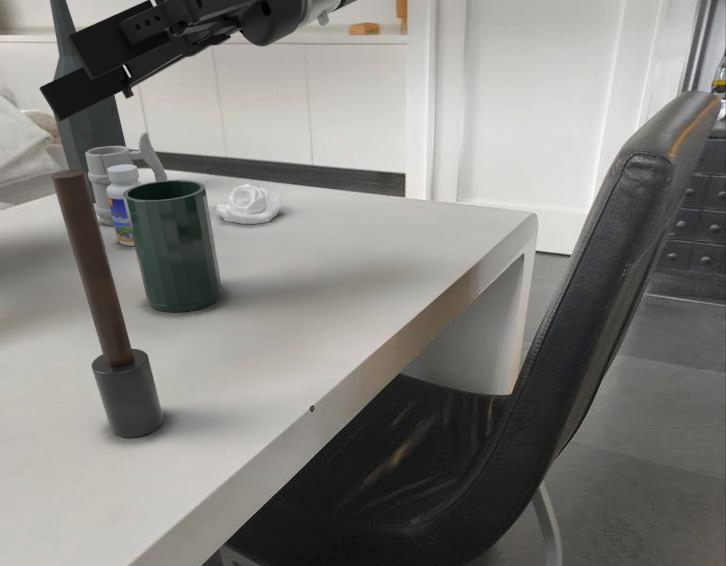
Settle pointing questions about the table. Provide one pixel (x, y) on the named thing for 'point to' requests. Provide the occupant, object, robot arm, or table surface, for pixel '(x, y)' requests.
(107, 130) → the bottle
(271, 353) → the table surface
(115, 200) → the pill bottle
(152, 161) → the mug
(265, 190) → the rose
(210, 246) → the dark green pencil cup
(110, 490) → the table surface
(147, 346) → the table surface
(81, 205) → the brush
